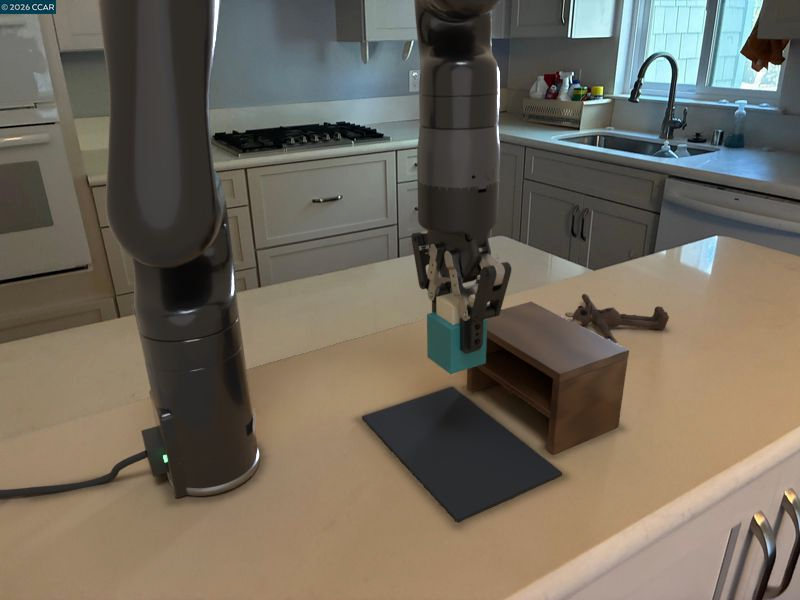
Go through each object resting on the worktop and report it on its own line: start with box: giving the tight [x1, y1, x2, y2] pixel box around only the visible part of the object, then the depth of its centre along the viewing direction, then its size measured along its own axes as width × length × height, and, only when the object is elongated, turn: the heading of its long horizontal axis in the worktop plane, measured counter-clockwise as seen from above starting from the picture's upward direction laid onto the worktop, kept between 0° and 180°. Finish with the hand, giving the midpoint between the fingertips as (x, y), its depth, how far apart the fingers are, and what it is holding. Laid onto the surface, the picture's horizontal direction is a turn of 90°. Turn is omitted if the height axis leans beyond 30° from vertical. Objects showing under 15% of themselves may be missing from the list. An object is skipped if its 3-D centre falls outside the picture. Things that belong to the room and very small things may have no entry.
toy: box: [426, 293, 487, 375], centre depth 63 cm, size 4×4×7 cm
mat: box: [361, 385, 563, 523], centre depth 68 cm, size 13×20×1 cm, turn 30°
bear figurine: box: [564, 293, 670, 344], centre depth 94 cm, size 18×4×14 cm
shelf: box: [466, 301, 630, 456], centre depth 73 cm, size 10×16×10 cm, turn 30°
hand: (456, 340), depth 63 cm, fingers closed on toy, 4 cm apart
